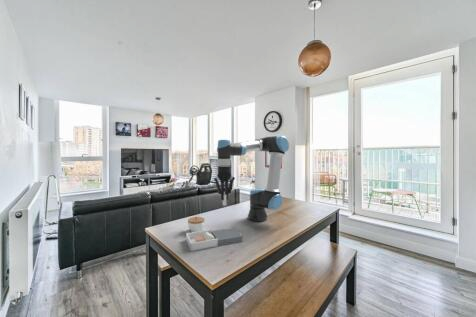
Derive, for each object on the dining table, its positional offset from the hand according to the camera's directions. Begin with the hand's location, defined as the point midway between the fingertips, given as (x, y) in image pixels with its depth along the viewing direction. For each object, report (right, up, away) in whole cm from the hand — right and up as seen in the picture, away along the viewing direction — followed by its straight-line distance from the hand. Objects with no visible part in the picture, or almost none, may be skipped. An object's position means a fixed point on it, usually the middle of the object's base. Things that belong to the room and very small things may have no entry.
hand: (224, 205), depth 120 cm
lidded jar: (-20, -20, +13) cm, 31 cm away
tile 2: (-9, -19, -4) cm, 21 cm away
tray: (-13, -20, -5) cm, 25 cm away
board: (+1, -20, +1) cm, 20 cm away
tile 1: (-14, -17, -5) cm, 23 cm away
